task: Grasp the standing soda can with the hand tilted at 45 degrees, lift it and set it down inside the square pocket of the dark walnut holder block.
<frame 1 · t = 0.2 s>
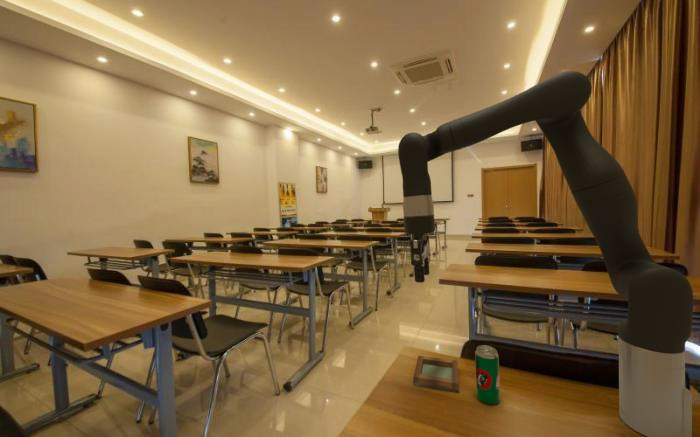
hand: (422, 278, 73), 28 cm above the table, tool pointing down, fingers open, 8 cm apart
holder: (436, 376, 78), on the table
soda can: (488, 399, 69), on the table
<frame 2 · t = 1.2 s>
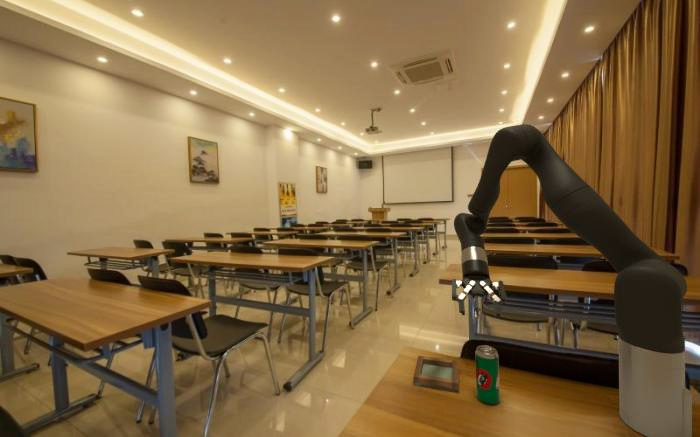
hand: (480, 315, 79), 16 cm above the table, tool tilted 45°, fingers open, 8 cm apart
nothing on the table moved.
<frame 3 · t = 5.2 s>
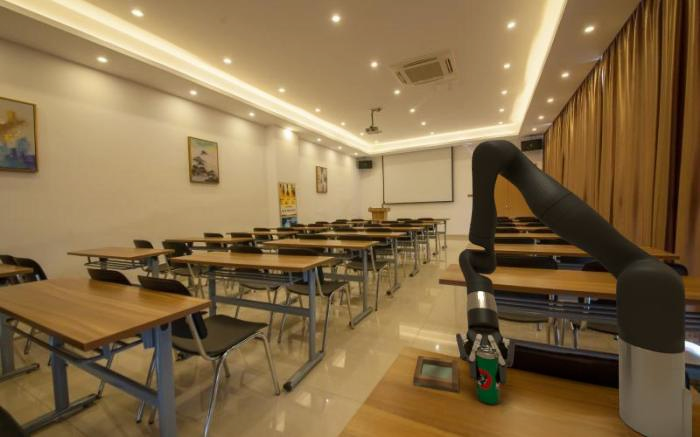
hand: (488, 382, 67), 5 cm above the table, tool tilted 45°, fingers closed on soda can, 5 cm apart
soda can: (488, 399, 69), on the table, touching gripper
when the fingers open (7 cm above the table, at t = 10.4 s): soda can drops 1 cm, resting on holder.
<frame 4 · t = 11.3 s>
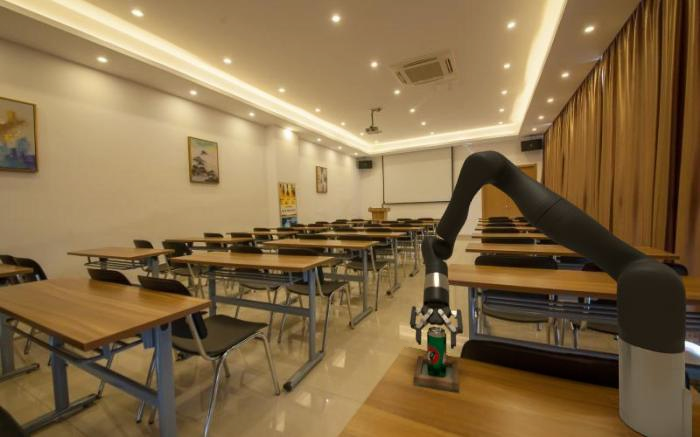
hand: (435, 345, 78), 9 cm above the table, tool tilted 45°, fingers open, 8 cm apart
soda can: (436, 373, 79), point 1 cm above the table, touching holder
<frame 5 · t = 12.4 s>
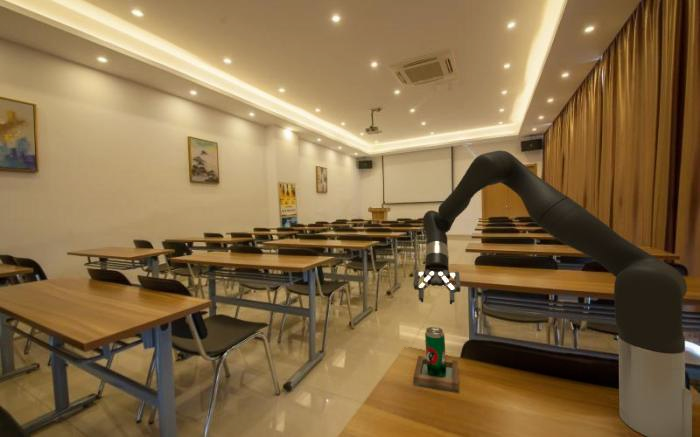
hand: (436, 302, 88), 17 cm above the table, tool tilted 45°, fingers open, 8 cm apart
nothing on the table moved.
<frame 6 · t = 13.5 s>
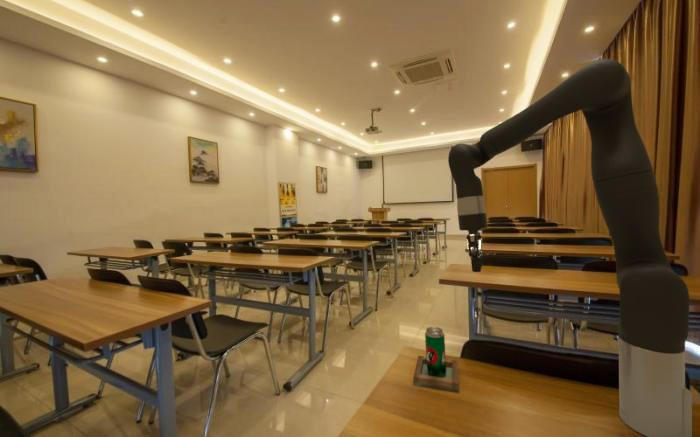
hand: (477, 269, 82), 28 cm above the table, tool pointing down, fingers open, 8 cm apart
nothing on the table moved.
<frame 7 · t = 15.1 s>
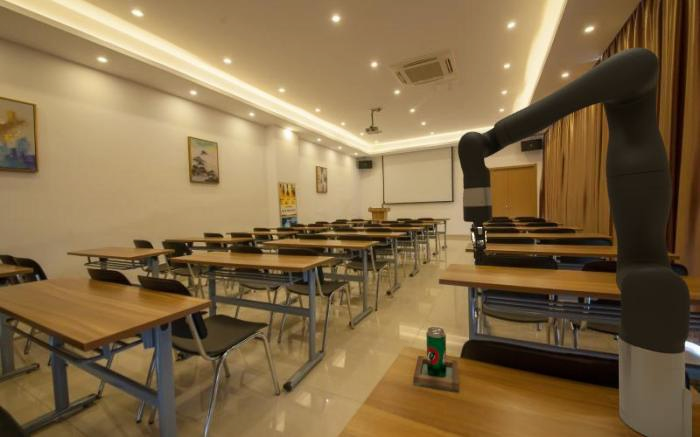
hand: (478, 261, 82), 30 cm above the table, tool pointing down, fingers open, 8 cm apart
nothing on the table moved.
at the end: soda can inside the target area on the holder (0.2 cm from its centre), point 0.6 cm above the holder's base; soda can tilted 1°; the gripper is holding nothing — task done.
